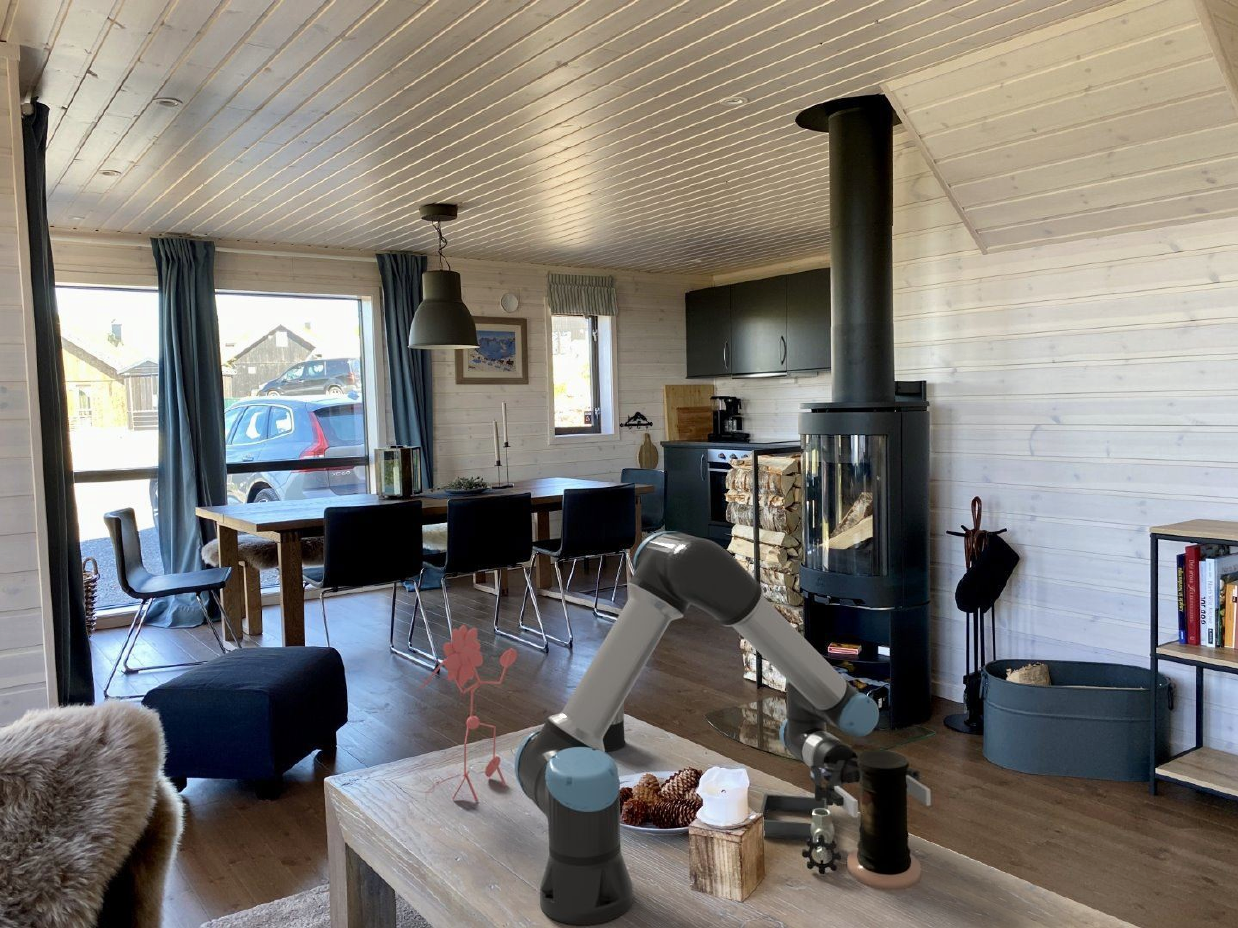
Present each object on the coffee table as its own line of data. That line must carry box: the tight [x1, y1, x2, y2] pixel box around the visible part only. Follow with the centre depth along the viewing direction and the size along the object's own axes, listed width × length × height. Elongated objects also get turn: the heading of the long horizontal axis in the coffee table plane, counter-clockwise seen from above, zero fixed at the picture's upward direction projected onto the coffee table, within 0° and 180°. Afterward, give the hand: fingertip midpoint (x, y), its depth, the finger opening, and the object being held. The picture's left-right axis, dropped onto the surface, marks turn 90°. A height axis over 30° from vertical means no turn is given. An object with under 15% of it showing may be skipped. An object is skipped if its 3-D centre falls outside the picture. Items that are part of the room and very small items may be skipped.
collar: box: [759, 793, 829, 842], centre depth 177 cm, size 12×12×3 cm
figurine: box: [418, 624, 518, 803], centre depth 199 cm, size 15×26×35 cm, turn 148°
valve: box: [801, 808, 843, 875], centre depth 164 cm, size 7×7×12 cm
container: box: [857, 749, 911, 875], centre depth 158 cm, size 9×9×18 cm
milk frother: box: [603, 701, 627, 752], centre depth 220 cm, size 14×16×15 cm
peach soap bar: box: [846, 848, 922, 890], centre depth 159 cm, size 12×12×2 cm
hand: (892, 803), depth 155 cm, fingers open, 13 cm apart
